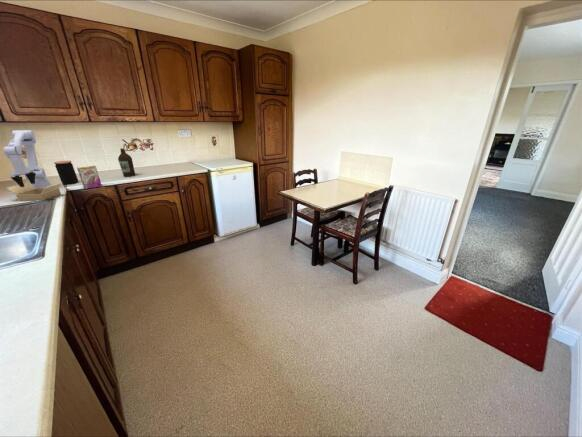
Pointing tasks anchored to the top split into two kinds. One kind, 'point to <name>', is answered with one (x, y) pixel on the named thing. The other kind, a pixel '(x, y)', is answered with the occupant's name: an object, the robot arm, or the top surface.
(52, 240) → the top surface
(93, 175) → the candy bar box
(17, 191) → the flap
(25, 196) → the carton
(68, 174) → the coffee jar
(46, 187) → the flap
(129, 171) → the olive oil
